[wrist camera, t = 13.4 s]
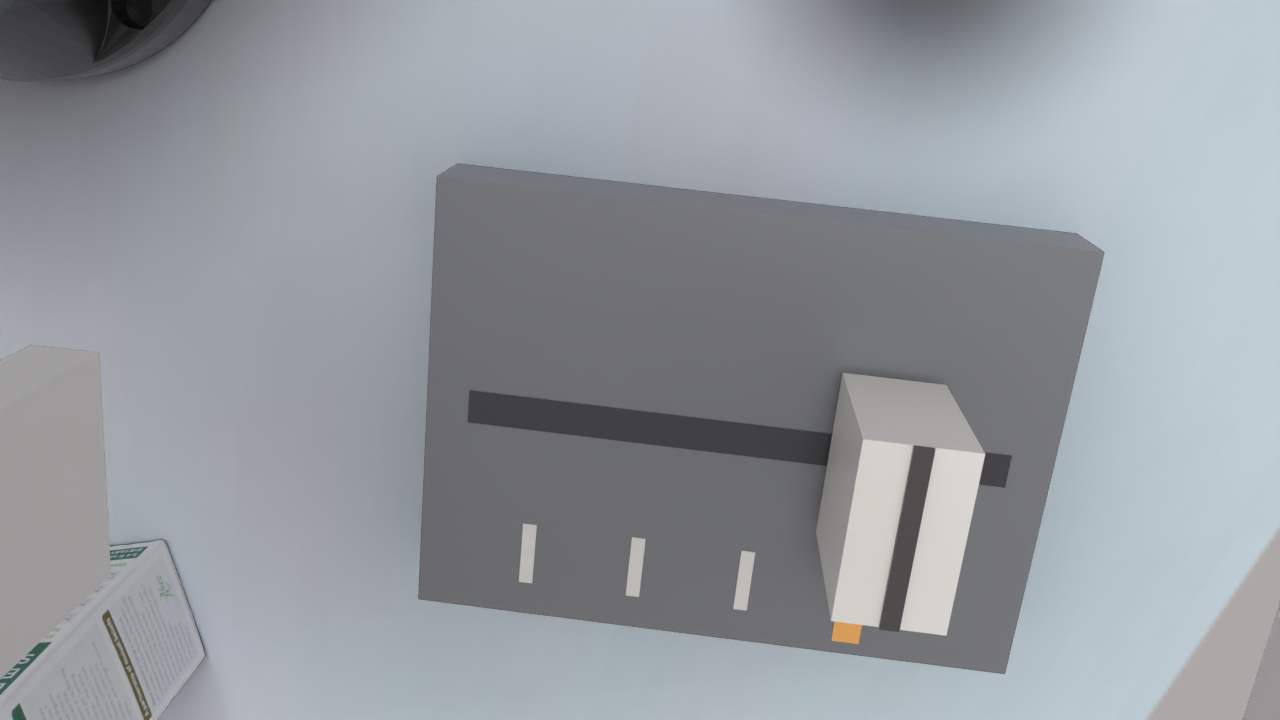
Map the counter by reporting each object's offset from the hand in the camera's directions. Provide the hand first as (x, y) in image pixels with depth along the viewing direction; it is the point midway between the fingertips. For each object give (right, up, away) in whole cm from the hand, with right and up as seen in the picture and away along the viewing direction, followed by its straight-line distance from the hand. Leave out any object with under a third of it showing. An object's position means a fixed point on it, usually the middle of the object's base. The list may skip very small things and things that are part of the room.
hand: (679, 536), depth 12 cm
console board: (+3, 0, +30) cm, 30 cm away
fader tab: (+8, -2, +27) cm, 28 cm away
